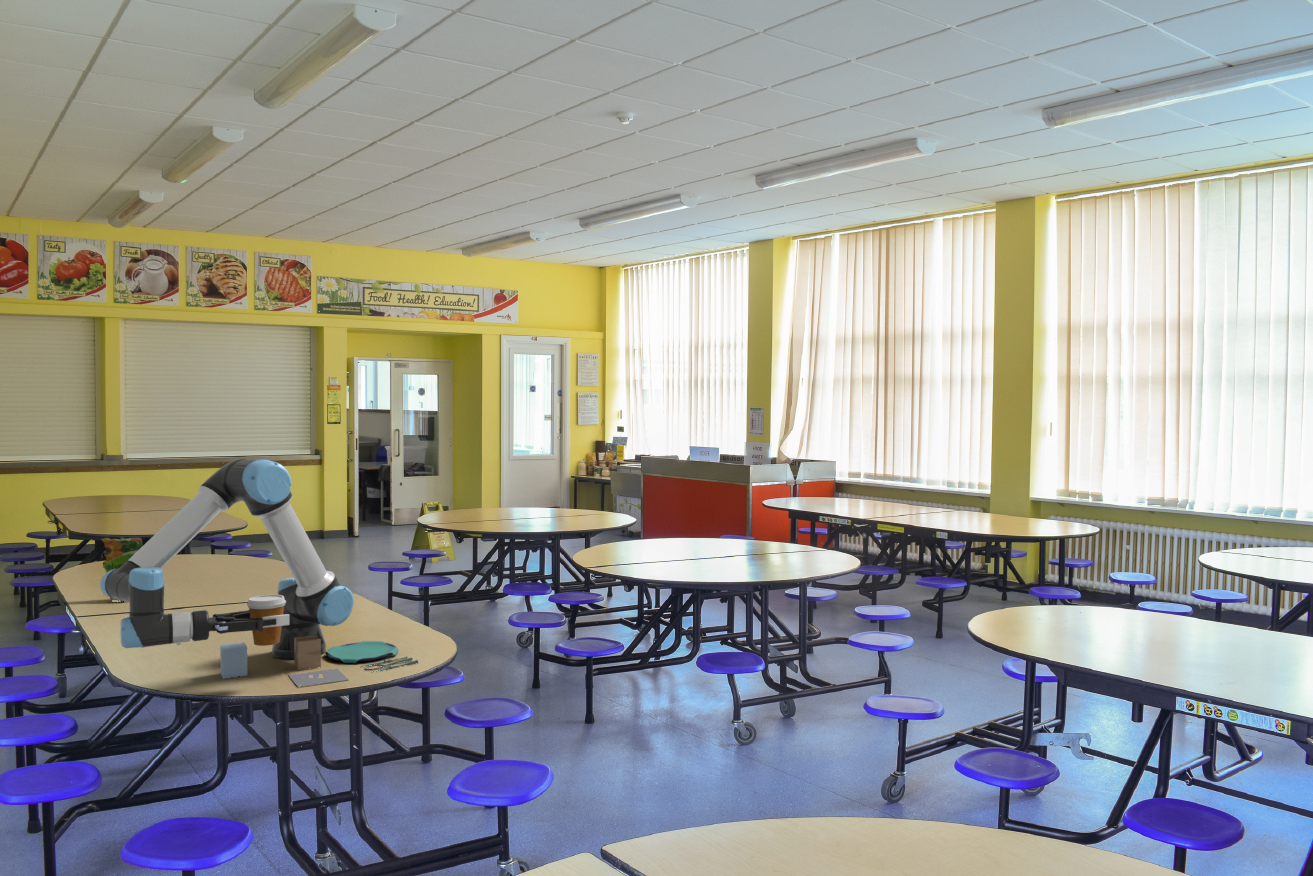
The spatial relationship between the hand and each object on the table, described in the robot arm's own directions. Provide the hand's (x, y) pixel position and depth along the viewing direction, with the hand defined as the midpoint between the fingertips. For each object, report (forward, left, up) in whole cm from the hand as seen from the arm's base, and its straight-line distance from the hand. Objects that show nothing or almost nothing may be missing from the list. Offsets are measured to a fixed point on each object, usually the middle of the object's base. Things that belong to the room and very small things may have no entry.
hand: (285, 616), depth 244 cm
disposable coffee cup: (0, -5, -7) cm, 8 cm away
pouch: (-149, -33, -18) cm, 154 cm away
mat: (0, +8, -18) cm, 20 cm away
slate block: (-16, -11, -18) cm, 26 cm away
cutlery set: (-14, +26, -19) cm, 34 cm away
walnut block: (-14, +8, -18) cm, 24 cm away
